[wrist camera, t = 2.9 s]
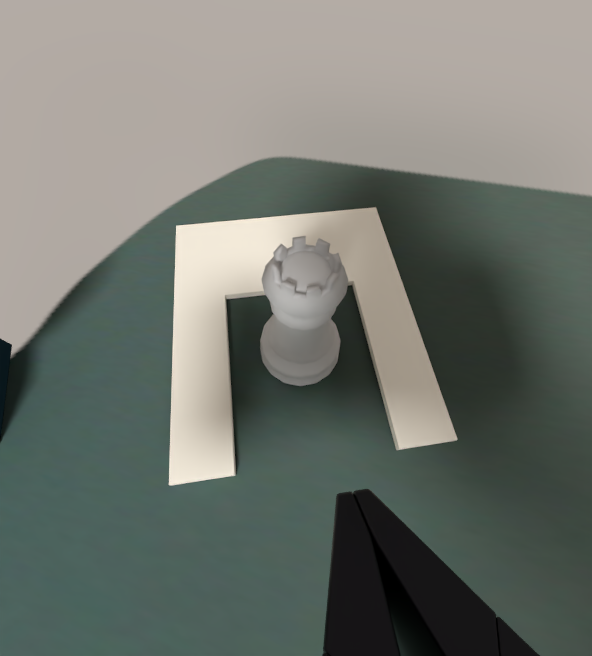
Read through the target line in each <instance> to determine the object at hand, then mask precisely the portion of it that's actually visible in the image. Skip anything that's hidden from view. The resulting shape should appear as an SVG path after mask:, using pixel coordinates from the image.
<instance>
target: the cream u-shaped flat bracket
mask: <svg viewBox="0 0 592 656" xmlns="http://www.w3.org/2000/svg"><path fill="white" fill-rule="evenodd" d="M300 236H306V244H307V245H313V246H316V242H317V240H318V238H320V239H322V240H324V241H326V242H328V243H330V248H329V252H330V253H331V254H336V253H339V256H340V259H341V262H342V265H343V266H344V268H345V271H346V274H347V277H348V285H347V286H350V285H352V286H353V290H354V294H355V297H356V301H357V305H358V309H359V312H360V316H361V320H362V324H363V327H364V331H365V335H366V339H367V342H368V346H369V350H370V354H371V357H372V361H373V365H374V369H375V372H376V376H377V380H378V383H379V387H380V391H381V395H382V398H383V402H384V406H385V410H386V413H387V417H388V421H389V425H390V428H391V432H392V436H393V440H394V443H395V447H396V450H400V449H407V448H413V447H420V446H426V445H432V444H439V443H445V442H452V441H456V440H458V439H457V436H456V434H455V431H454V428H453V425H452V422H451V419H450V417H449V414H448V411H447V408H446V405H445V402H444V399H443V397H442V394H441V391H440V388H439V385H438V382H437V380H436V377H435V374H434V371H433V368H432V365H431V363H430V360H429V357H428V354H427V351H426V348H425V346H424V343H423V340H422V337H421V334H420V331H419V329H418V326H417V323H416V320H415V317H414V314H413V312H412V309H411V306H410V303H409V300H408V297H407V294H406V292H405V289H404V286H403V283H402V280H401V277H400V275H399V272H398V269H397V266H396V263H395V260H394V258H393V255H392V252H391V249H390V246H389V243H388V241H387V238H386V235H385V232H384V229H383V226H382V224H381V221H380V218H379V215H378V212H377V209H376V207H374V208H363V209H352V210H341V211H331V212H320V213H309V214H298V215H287V216H277V217H266V218H255V219H244V220H233V221H223V222H212V223H201V224H190V225H179V226H176V254H175V289H174V324H173V359H172V394H171V430H170V465H169V485H177V484H184V483H190V482H196V481H203V480H209V479H216V478H222V477H228V476H235V475H236V465H235V447H234V429H233V411H232V394H231V376H230V358H229V340H228V322H227V304H226V299H234V298H243V297H252V296H261V295H265V294H264V289H263V284H262V276H263V272H264V269H265V266H266V264H267V263H268V262H269V261H270V260H271V259H272V258H273V257H274V254H273V252H274V251H275V250H276V249H277V247H278V246H279V245H280V244H283V245H284V246H285V247H286V248H289V247H291V246H292V238H293V237H300Z"/></svg>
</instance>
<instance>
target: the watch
mask: <svg viewBox="0 0 592 656" xmlns="http://www.w3.org/2000/svg"><path fill="white" fill-rule="evenodd" d="M11 347H12V345H11V344H9V343H7V342H5V341H4V340H2V339H0V437H1V429H2V420H3V412H4V404H5V396H6V388H7V380H8V372H9V364H10V356H11Z"/></svg>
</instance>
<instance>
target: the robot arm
mask: <svg viewBox="0 0 592 656" xmlns="http://www.w3.org/2000/svg"><path fill="white" fill-rule="evenodd" d="M323 651H324V653H323V655H322V656H539V655H538V654H537V653H536V652H535V651H534V650H533V649H532V648H531V647H530V646H529V645H528V644H527V643H526V642H525V641H524V640H523V639H521V638H520V637H519V636H518V635H517V634H516V633H515V632H514V631H513V630H512V629H511V628H510V627H509V626H508V625H507V624H506V623H505V622H504V621H503V620H502V619H501V618H500V617H497V618H496V614H495V612H494V611H493V610H492V609H491V608H490V607H489V606H488V605H487V604H486V603H485V602H484V601H483V600H482V599H481V598H480V597H479V596H477V595H476V594H475V593H474V592H473V591H472V590H471V589H470V588H469V587H468V586H467V585H466V584H465V583H464V582H463V581H462V580H461V579H460V578H459V577H458V576H457V575H456V574H455V573H454V572H453V571H452V570H451V569H450V568H449V567H448V566H447V565H446V564H445V563H444V562H443V561H442V560H441V559H440V558H439V557H438V556H437V555H436V554H435V553H434V552H433V551H432V550H431V549H430V548H429V547H428V546H427V545H426V544H425V543H424V542H423V541H421V540H420V539H419V538H418V537H417V536H416V535H415V534H414V533H413V532H412V531H411V530H410V529H409V528H408V527H407V526H406V525H405V524H404V523H403V522H402V521H401V520H400V519H399V518H398V517H397V516H396V515H395V514H394V513H393V512H392V511H391V510H390V509H389V508H388V507H387V506H386V505H385V504H384V503H383V502H382V501H381V500H380V499H379V498H378V497H377V496H376V495H375V494H374V493H373V492H372V491H370V490H369V489H362V490H356V491H354V492H353V493H352V492H344V493H339V494H337V497H336V507H335V519H334V530H333V542H332V553H331V565H330V577H329V588H328V600H327V611H326V623H325V634H324V646H323Z"/></svg>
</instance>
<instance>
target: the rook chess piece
mask: <svg viewBox="0 0 592 656" xmlns="http://www.w3.org/2000/svg"><path fill="white" fill-rule="evenodd" d="M329 248H330V243H328V242H326V241H324V240H322V239H320V238H318V240H317V242H316V246H313V245H307V244H306V236H300V237H293V238H292V246H291V247H289V248H286V247H285V246H284V245H283V244H280V245H279V246H278V247H277V249H276V250H275V251H274V252H273V254H274V257H273V258H272V259H271V260H270V261H269V262H268V263H267V264H266V266H265V269H264V272H263V276H262V284H263V289H264V294H265V295H266V296H267V298H268V299H269V300H270V304H271V309H272V312H273V313H274V314H273V315H272V316H271V318H270V319H269V320H268V321H267V323H266V324H265V325H264V328H263V332H262V335H261V339H260V344H261V346H260V350H261V356H262V362H263V363H264V365H265V366H266V368H267V369H268V371H269V372H270V374H271V375H273V376H274V377H276V378H277V379H279V380H280V381H282V382H283V383H287V384H292V385H297V386H304V385H309V384H314V383H317V382H319V381H320V380H322V379H323V378H325V377H326V376H328V375H329V374H330V373H331V371H332V370H333V368H334V367H335V365H336V363H337V362H338V355H339V349H340V342H341V341H340V337H339V334H338V330H337V327H336V324H335V323H334V322H333V321H332V319H331V317H332V316H333V314H334V313H335V310H336V307H337V306H338V305H339V303H340V302H341V300H342V299H343V298H344V296H345V295H346V292H347V285H348V277H347V274H346V271H345V268H344V266H343V265H342V262H341V259H340V256H339V253H336V254H331V253H330V252H329Z"/></svg>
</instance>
